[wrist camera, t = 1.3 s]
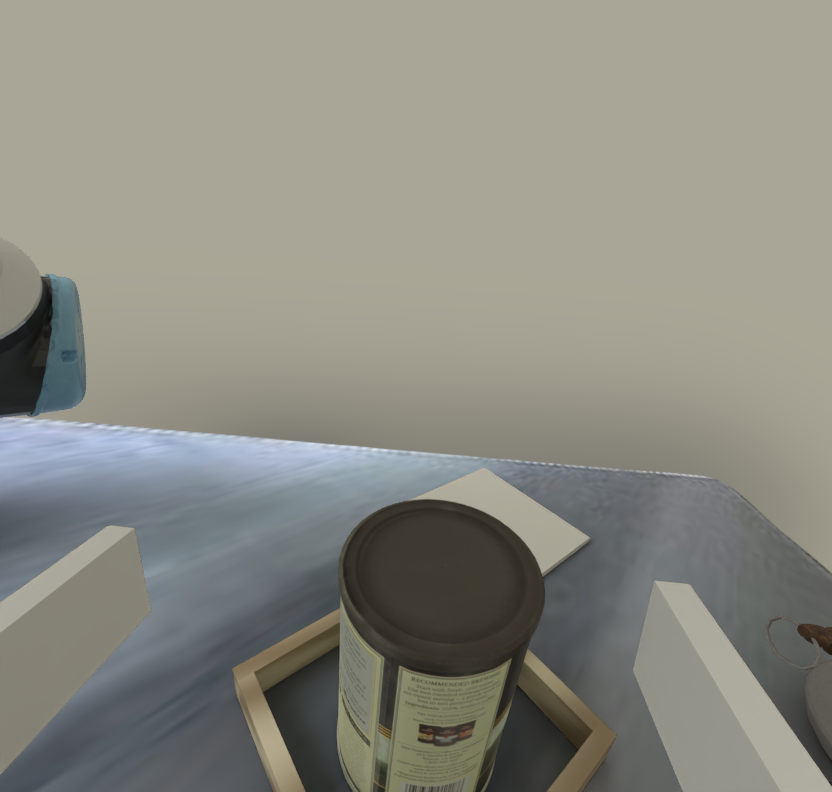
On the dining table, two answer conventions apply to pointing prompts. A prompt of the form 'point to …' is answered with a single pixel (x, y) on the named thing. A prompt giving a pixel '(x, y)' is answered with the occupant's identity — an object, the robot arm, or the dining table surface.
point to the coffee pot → (815, 680)
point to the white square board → (515, 515)
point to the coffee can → (430, 645)
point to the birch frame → (325, 636)
